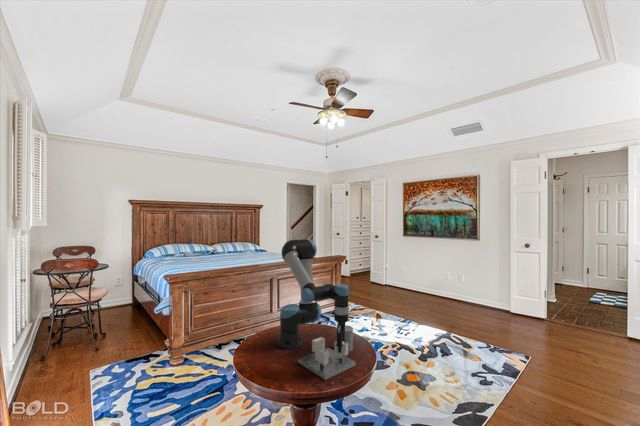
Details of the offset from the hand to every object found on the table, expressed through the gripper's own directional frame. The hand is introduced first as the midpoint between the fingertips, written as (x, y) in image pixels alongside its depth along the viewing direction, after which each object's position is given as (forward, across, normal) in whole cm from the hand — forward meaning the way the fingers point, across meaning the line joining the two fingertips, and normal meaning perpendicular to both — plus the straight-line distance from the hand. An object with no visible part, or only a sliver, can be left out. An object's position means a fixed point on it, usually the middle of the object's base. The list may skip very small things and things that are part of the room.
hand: (340, 355), depth 167 cm
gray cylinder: (+4, +18, +1) cm, 18 cm away
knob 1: (+2, -12, +8) cm, 14 cm away
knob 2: (+2, 0, 0) cm, 2 cm away
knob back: (+2, 0, +13) cm, 13 cm away
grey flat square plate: (+4, -4, +7) cm, 9 cm away
